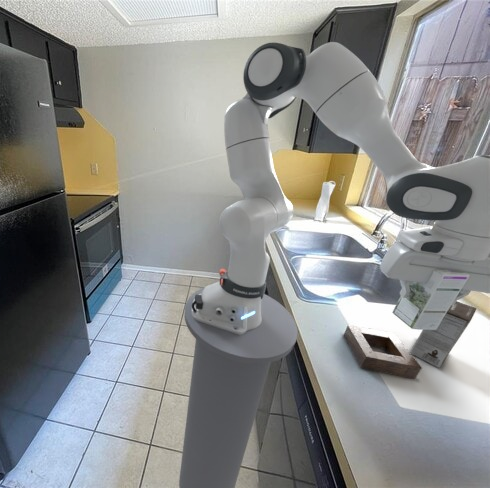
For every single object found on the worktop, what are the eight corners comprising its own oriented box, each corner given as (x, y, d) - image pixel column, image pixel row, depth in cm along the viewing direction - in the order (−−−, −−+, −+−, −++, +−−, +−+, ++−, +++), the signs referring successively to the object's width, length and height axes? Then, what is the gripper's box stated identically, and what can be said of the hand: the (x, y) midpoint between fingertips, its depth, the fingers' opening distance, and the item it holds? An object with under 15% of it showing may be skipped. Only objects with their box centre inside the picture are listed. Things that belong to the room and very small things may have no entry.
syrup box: (437, 330, 56) (473, 274, 50) (410, 329, 56) (444, 272, 50) (414, 313, 62) (444, 260, 56) (390, 312, 62) (418, 259, 55)
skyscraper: (325, 222, 177) (338, 182, 166) (312, 220, 181) (323, 180, 170) (325, 219, 184) (337, 180, 172) (313, 217, 188) (324, 178, 176)
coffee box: (417, 339, 77) (443, 295, 71) (446, 353, 73) (477, 307, 66) (408, 353, 72) (435, 306, 66) (439, 369, 68) (472, 321, 61)
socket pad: (360, 367, 67) (366, 356, 65) (343, 335, 78) (347, 324, 76) (415, 379, 64) (422, 367, 63) (389, 343, 75) (394, 333, 74)
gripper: (508, 244, 51) (471, 300, 57) (390, 230, 56) (366, 284, 61) (541, 258, 46) (496, 319, 51) (407, 241, 50) (379, 299, 56)
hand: (424, 300), depth 56 cm, fingers closed on syrup box, 6 cm apart
